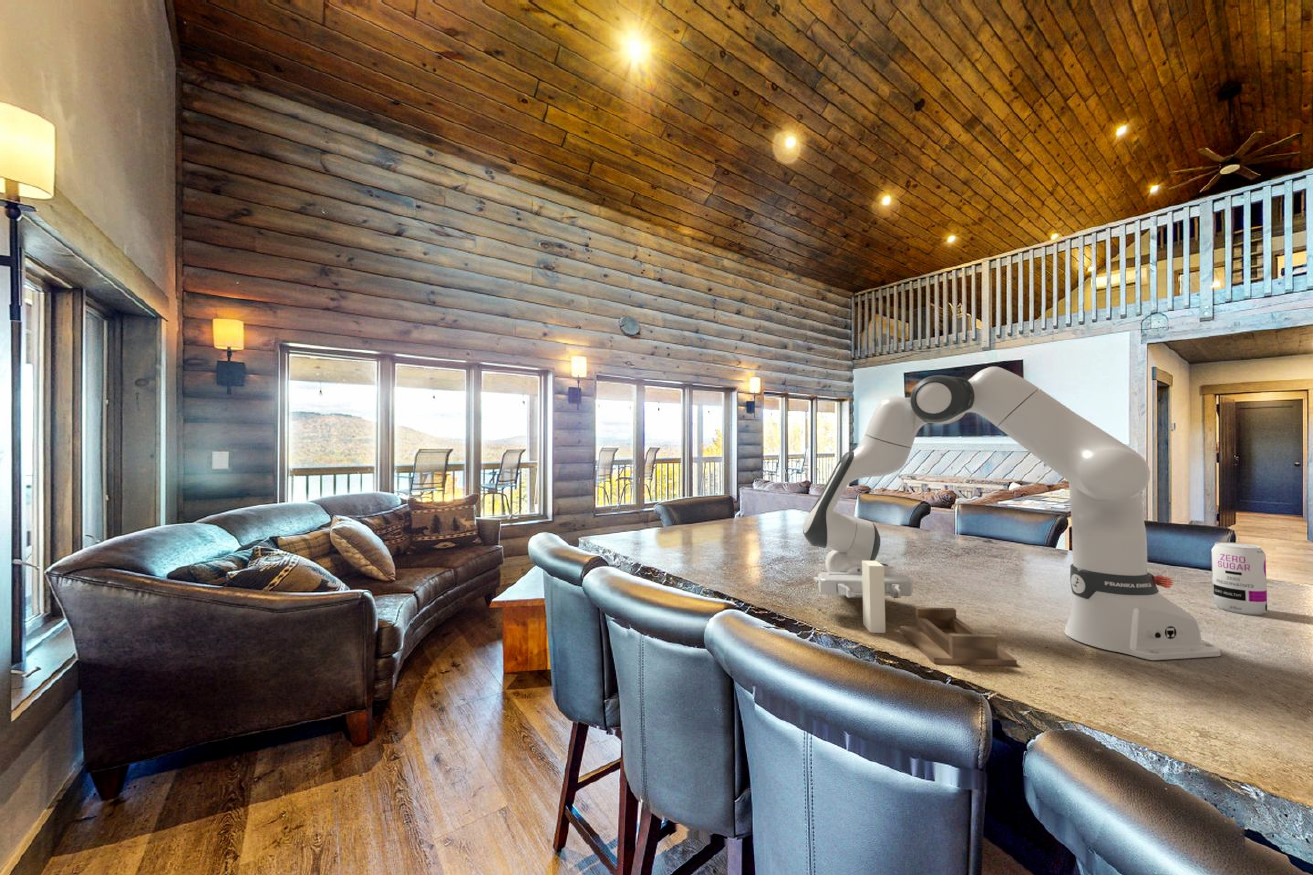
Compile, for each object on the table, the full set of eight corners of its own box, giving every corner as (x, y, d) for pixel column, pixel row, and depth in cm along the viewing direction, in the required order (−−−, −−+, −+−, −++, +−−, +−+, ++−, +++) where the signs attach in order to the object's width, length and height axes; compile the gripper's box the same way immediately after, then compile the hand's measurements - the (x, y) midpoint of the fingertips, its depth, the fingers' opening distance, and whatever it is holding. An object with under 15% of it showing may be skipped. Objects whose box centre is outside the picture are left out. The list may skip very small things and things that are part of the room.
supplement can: (1257, 607, 117) (1255, 543, 117) (1275, 618, 110) (1272, 550, 111) (1207, 602, 122) (1205, 540, 122) (1221, 612, 115) (1219, 546, 115)
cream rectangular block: (877, 624, 110) (876, 560, 110) (885, 633, 105) (884, 566, 105) (863, 624, 110) (861, 560, 111) (870, 632, 105) (869, 565, 106)
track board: (969, 632, 105) (969, 608, 105) (1016, 665, 89) (1016, 637, 89) (900, 630, 106) (899, 606, 106) (934, 663, 90) (933, 635, 90)
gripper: (811, 563, 122) (824, 578, 109) (898, 564, 120) (922, 579, 107) (811, 589, 122) (824, 608, 108) (898, 590, 120) (923, 609, 106)
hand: (874, 594), depth 108 cm, fingers open, 8 cm apart
